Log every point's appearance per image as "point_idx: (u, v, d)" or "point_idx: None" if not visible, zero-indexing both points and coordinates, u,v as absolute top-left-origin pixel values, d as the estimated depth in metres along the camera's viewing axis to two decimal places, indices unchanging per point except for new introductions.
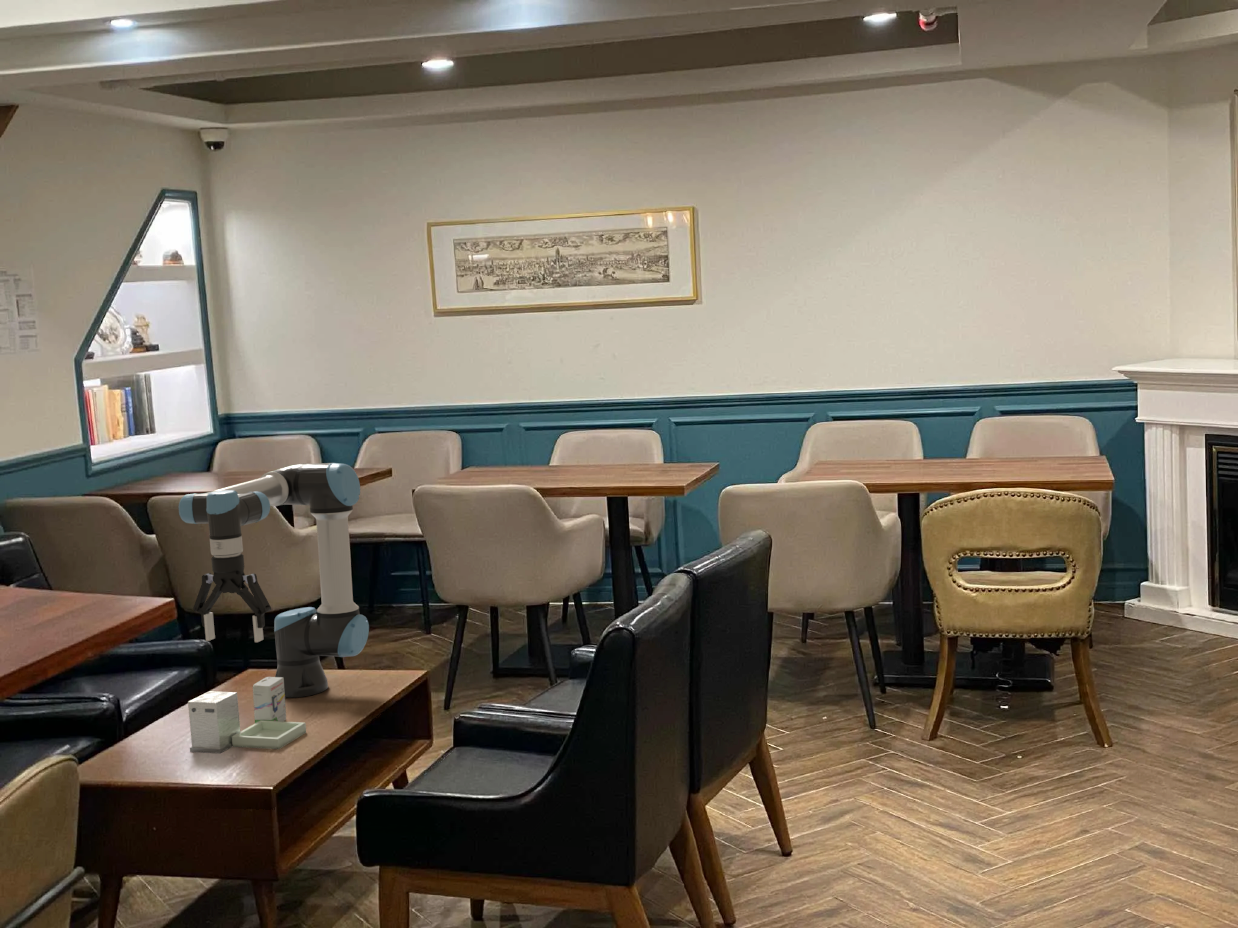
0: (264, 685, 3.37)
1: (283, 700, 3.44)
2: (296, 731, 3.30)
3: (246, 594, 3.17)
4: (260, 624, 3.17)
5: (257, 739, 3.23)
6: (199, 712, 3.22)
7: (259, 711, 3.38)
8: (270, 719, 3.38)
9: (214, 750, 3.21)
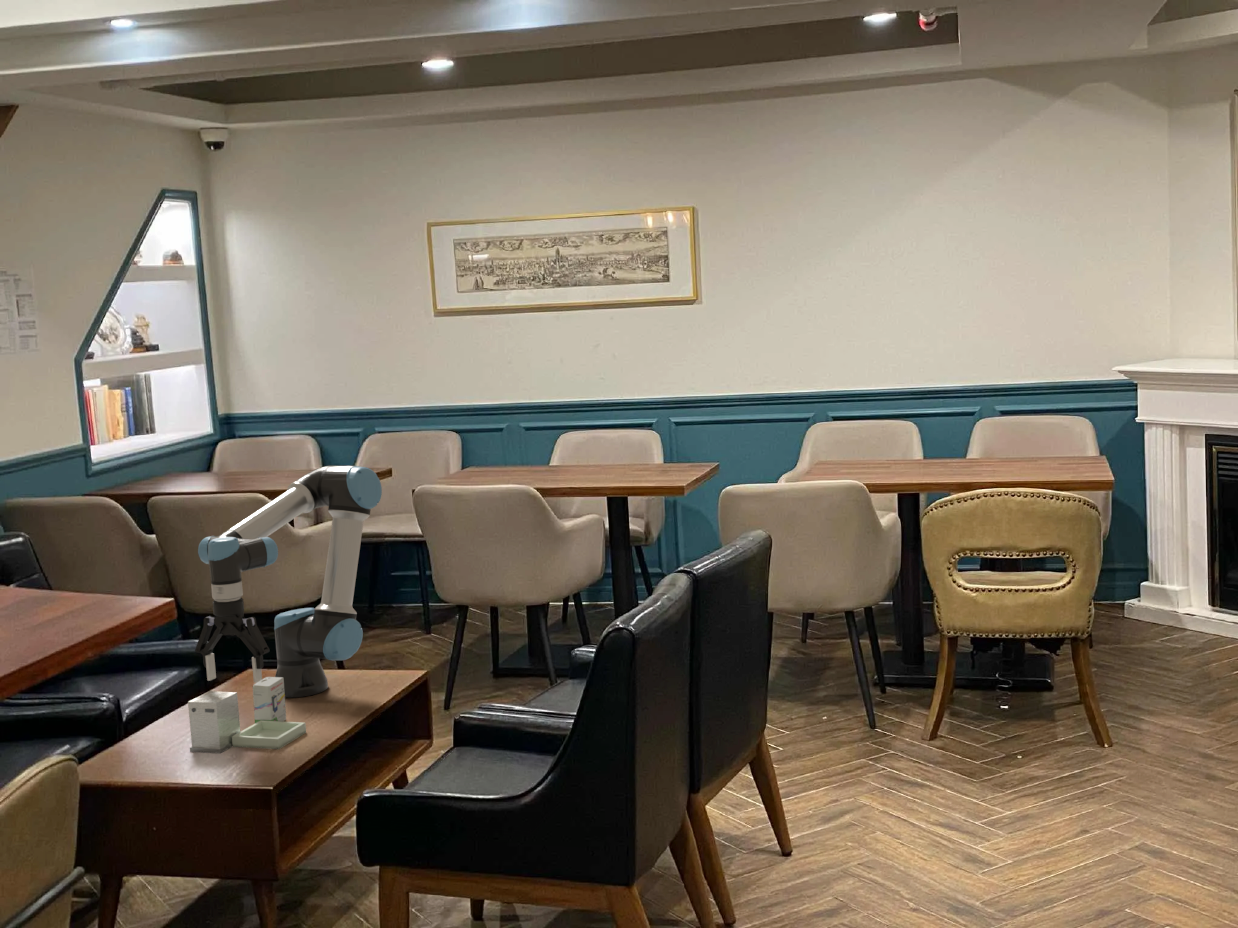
0: (264, 685, 3.37)
1: (283, 700, 3.44)
2: (296, 731, 3.30)
3: (246, 636, 3.32)
4: (259, 665, 3.32)
5: (257, 739, 3.23)
6: (199, 712, 3.22)
7: (259, 711, 3.38)
8: (270, 719, 3.38)
9: (214, 750, 3.21)
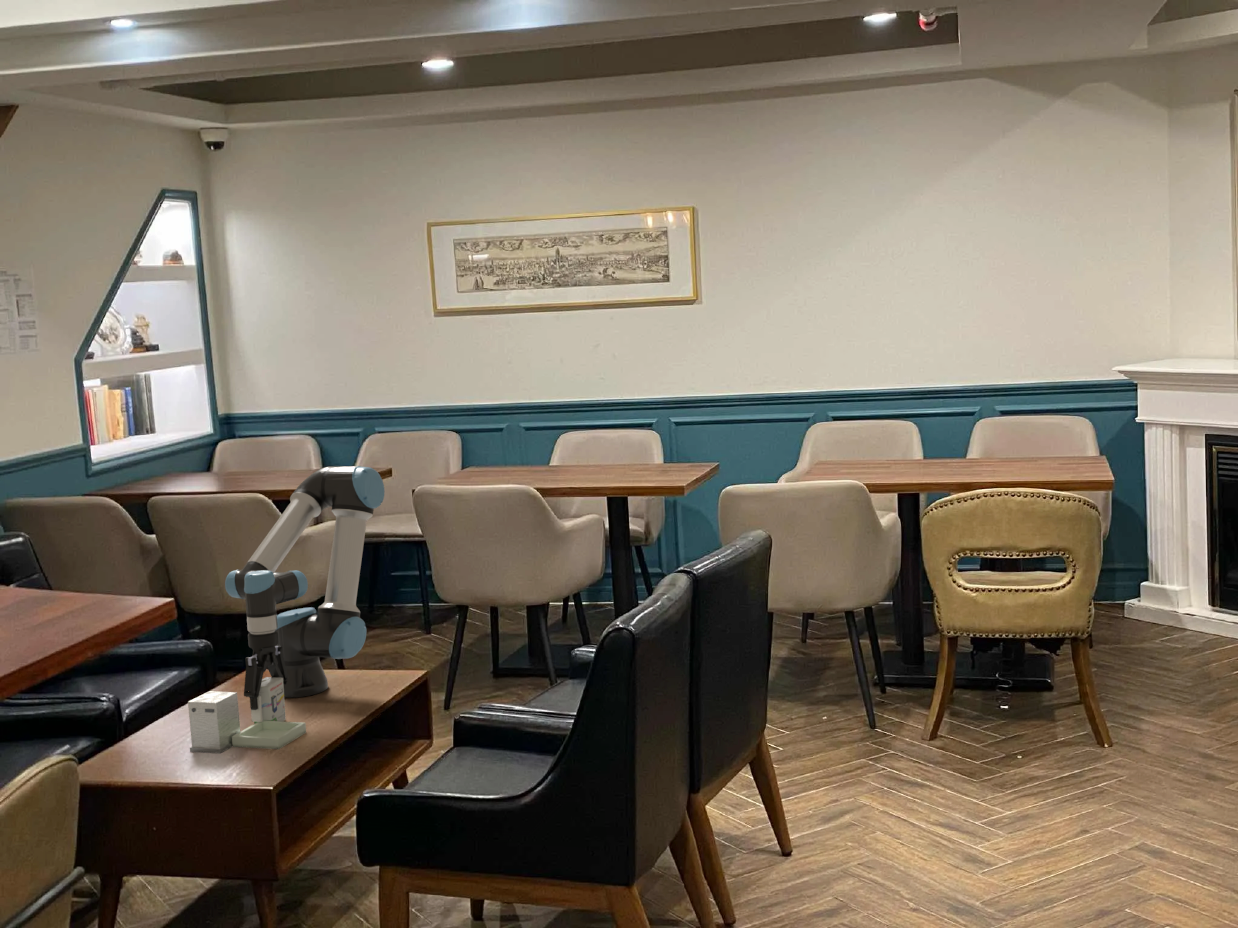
0: (263, 685, 3.37)
1: (282, 700, 3.44)
2: (296, 731, 3.30)
3: None
4: None
5: (257, 739, 3.23)
6: (199, 712, 3.22)
7: None
8: (269, 719, 3.37)
9: (214, 750, 3.21)
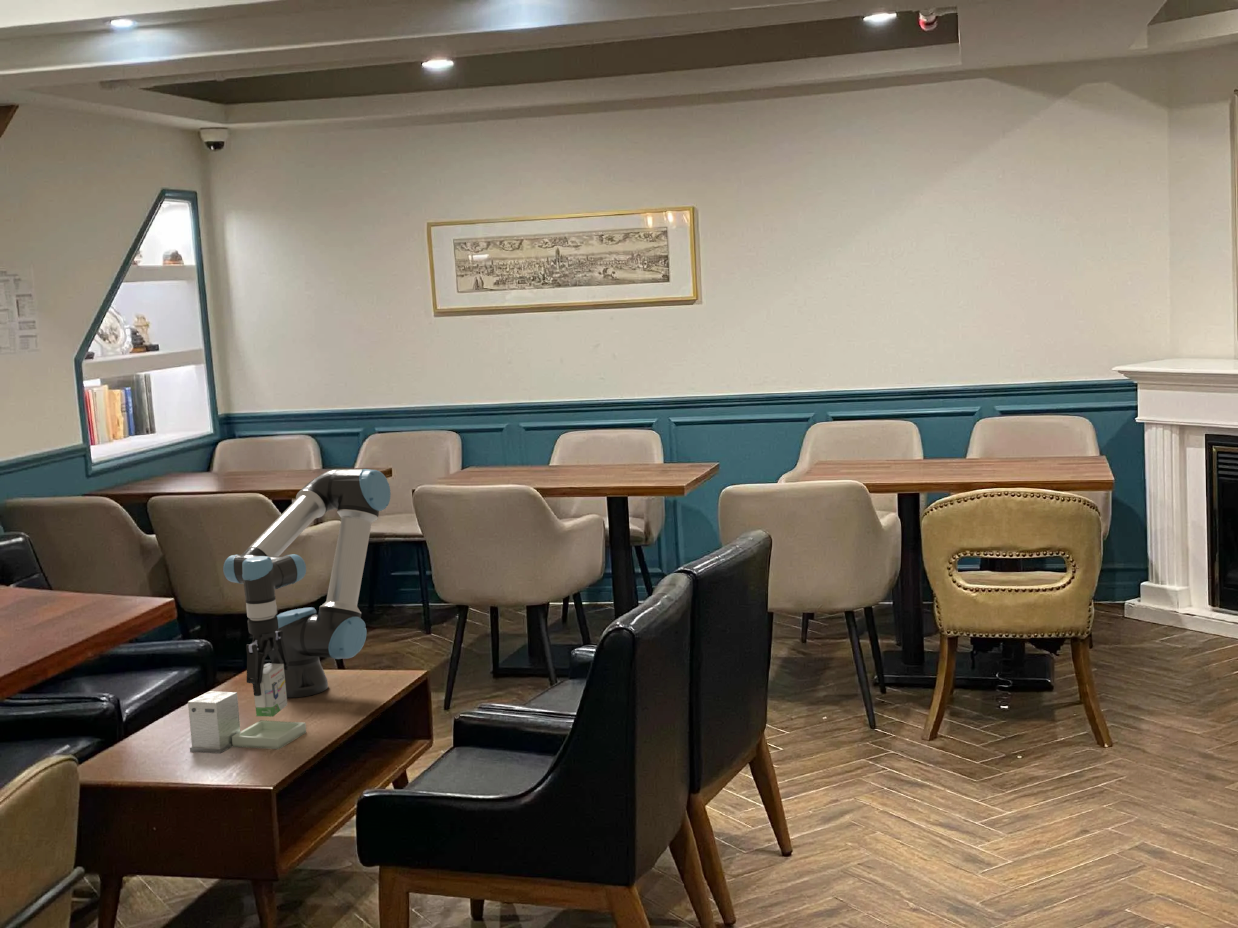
0: (264, 672, 3.37)
1: (284, 686, 3.44)
2: (296, 731, 3.30)
3: None
4: None
5: (257, 739, 3.23)
6: (199, 712, 3.22)
7: None
8: (271, 706, 3.38)
9: (214, 750, 3.21)
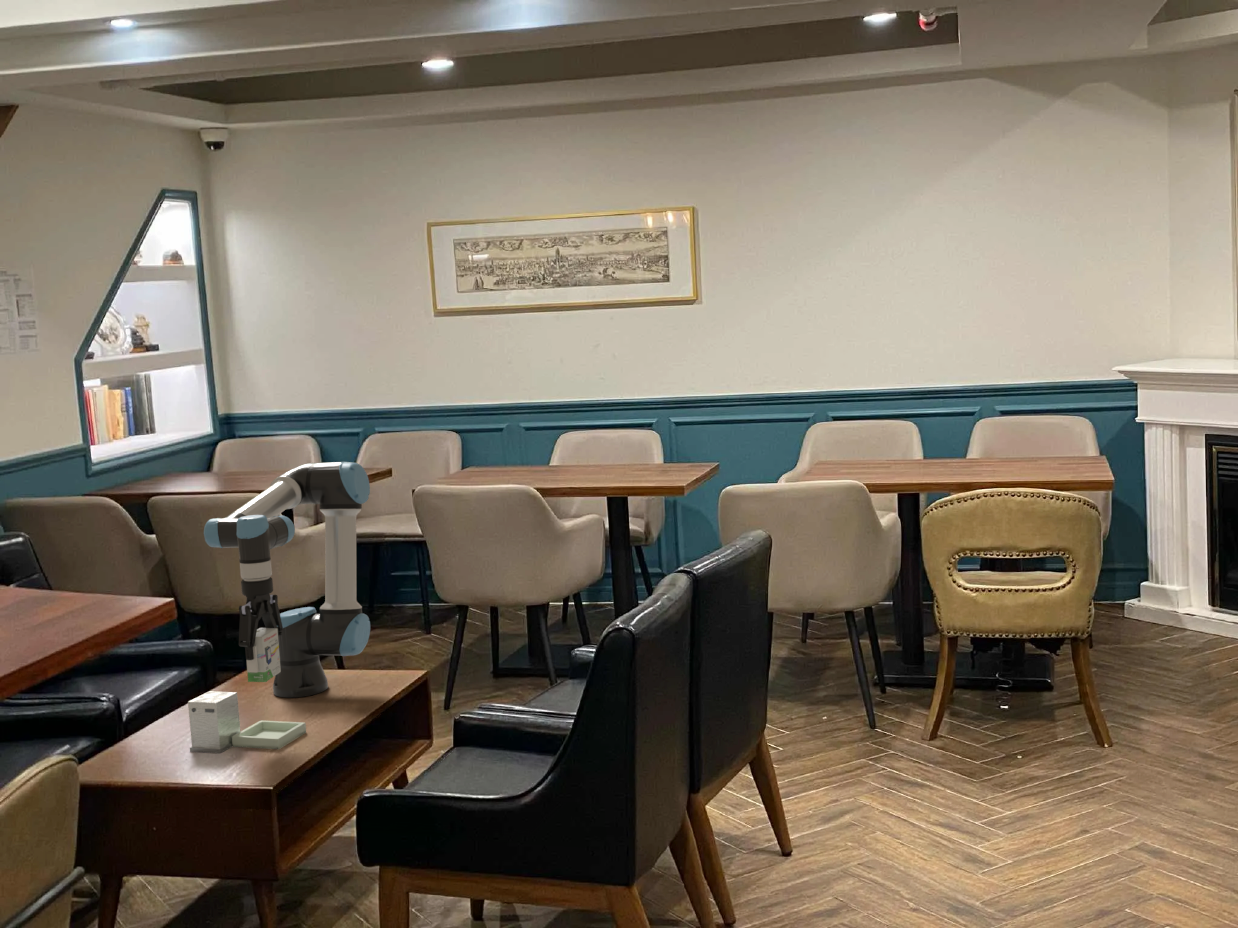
0: (257, 636, 3.23)
1: (277, 652, 3.30)
2: (296, 731, 3.30)
3: None
4: None
5: (257, 739, 3.23)
6: (199, 712, 3.22)
7: None
8: (263, 671, 3.23)
9: (214, 750, 3.21)
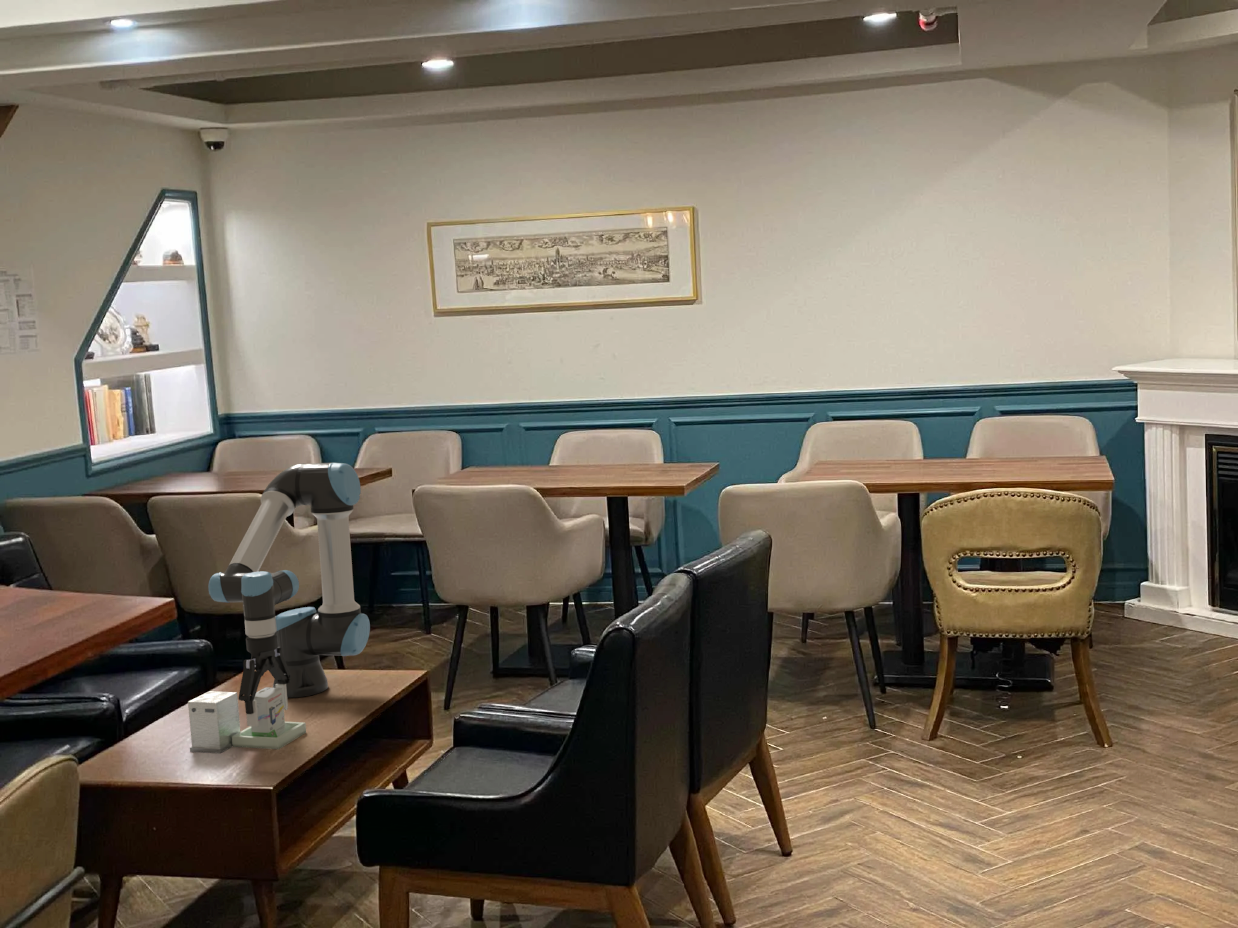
0: (261, 696, 3.25)
1: (282, 712, 3.31)
2: (296, 731, 3.30)
3: None
4: None
5: (257, 739, 3.23)
6: (199, 712, 3.22)
7: None
8: (267, 732, 3.25)
9: (214, 750, 3.21)
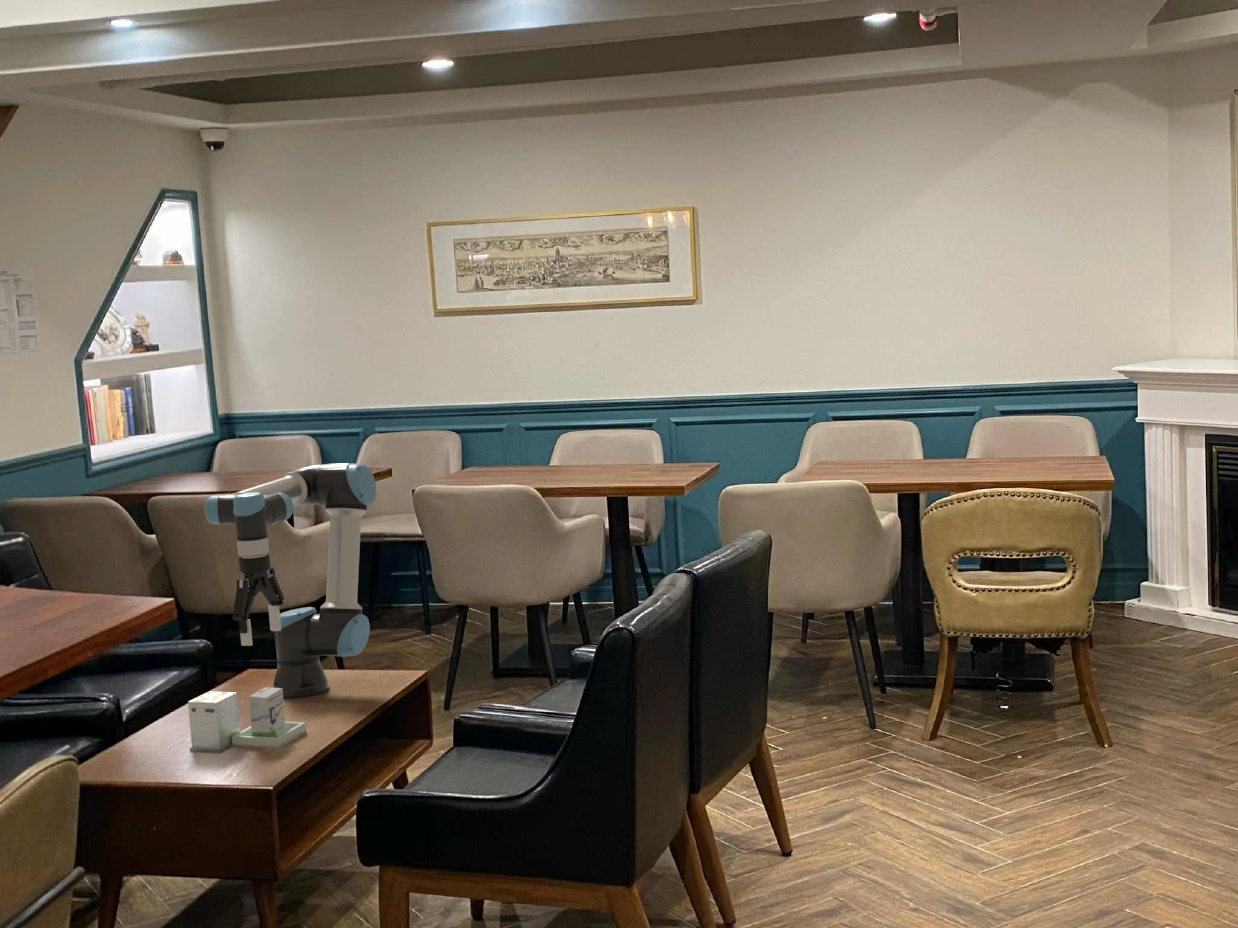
0: (261, 696, 3.25)
1: (282, 712, 3.31)
2: (296, 731, 3.30)
3: None
4: None
5: (257, 739, 3.23)
6: (199, 712, 3.22)
7: (256, 723, 3.25)
8: (267, 732, 3.25)
9: (214, 750, 3.21)
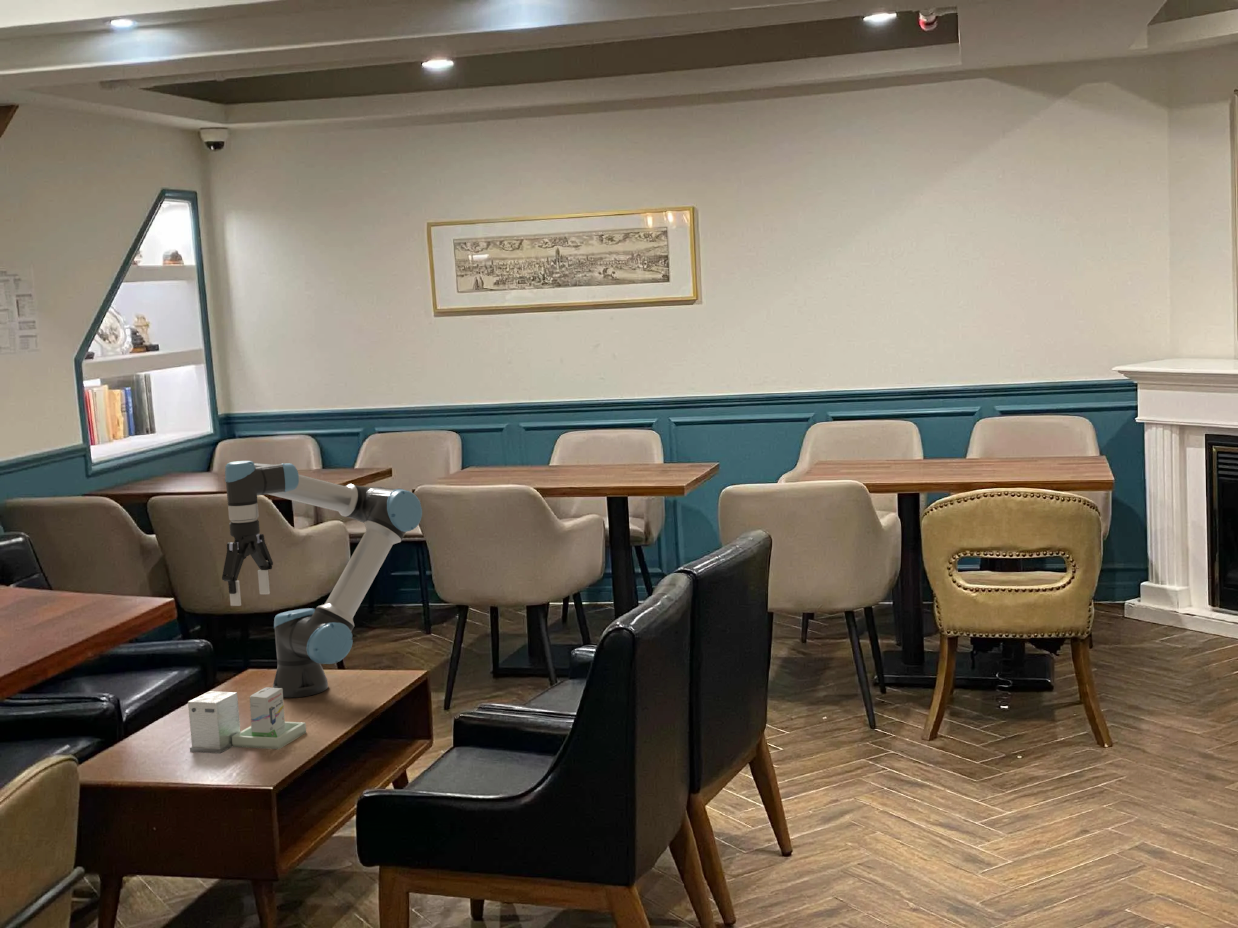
0: (261, 696, 3.25)
1: (282, 712, 3.31)
2: (296, 731, 3.30)
3: None
4: None
5: (257, 739, 3.23)
6: (199, 712, 3.22)
7: (256, 723, 3.25)
8: (267, 732, 3.25)
9: (214, 750, 3.21)
